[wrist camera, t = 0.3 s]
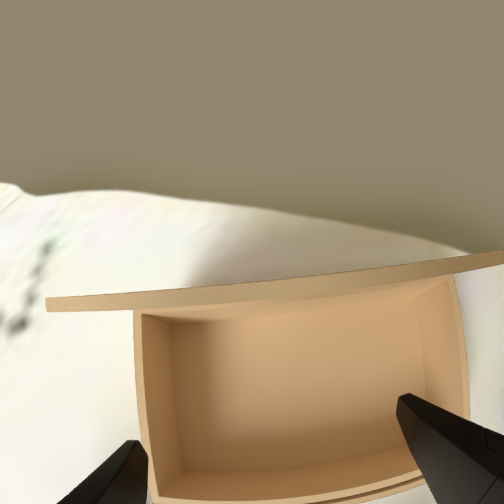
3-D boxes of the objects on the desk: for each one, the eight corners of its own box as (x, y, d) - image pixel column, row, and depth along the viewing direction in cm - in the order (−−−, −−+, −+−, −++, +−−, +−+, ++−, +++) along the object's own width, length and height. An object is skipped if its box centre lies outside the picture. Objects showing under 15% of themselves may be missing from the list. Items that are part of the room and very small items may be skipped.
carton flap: (546, 254, 8) (545, 242, 8) (46, 312, 9) (45, 298, 9) (441, 266, 18) (440, 259, 18) (145, 298, 19) (144, 291, 19)
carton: (430, 448, 19) (468, 465, 13) (179, 482, 20) (153, 512, 14) (415, 291, 24) (451, 269, 18) (165, 319, 25) (133, 304, 19)
